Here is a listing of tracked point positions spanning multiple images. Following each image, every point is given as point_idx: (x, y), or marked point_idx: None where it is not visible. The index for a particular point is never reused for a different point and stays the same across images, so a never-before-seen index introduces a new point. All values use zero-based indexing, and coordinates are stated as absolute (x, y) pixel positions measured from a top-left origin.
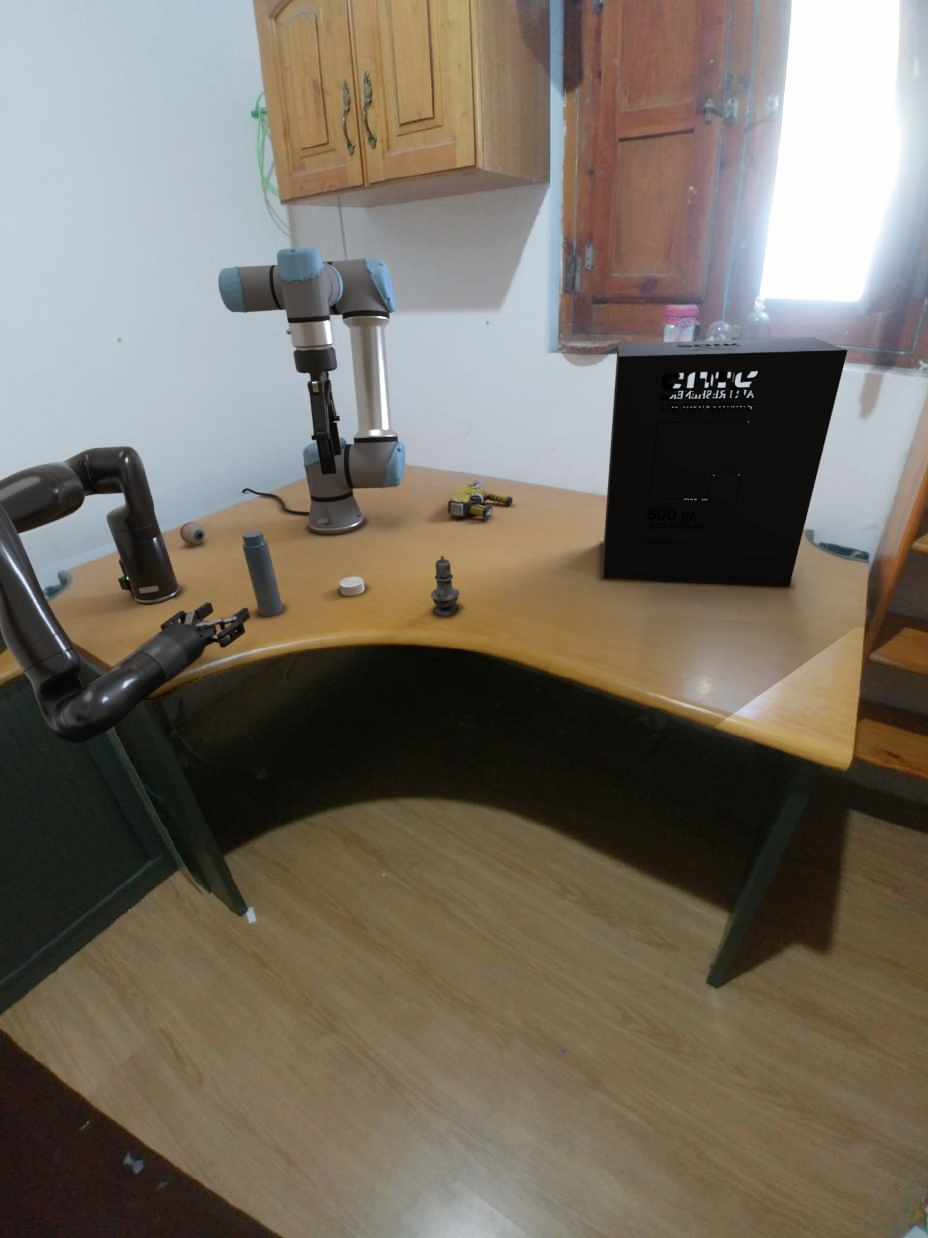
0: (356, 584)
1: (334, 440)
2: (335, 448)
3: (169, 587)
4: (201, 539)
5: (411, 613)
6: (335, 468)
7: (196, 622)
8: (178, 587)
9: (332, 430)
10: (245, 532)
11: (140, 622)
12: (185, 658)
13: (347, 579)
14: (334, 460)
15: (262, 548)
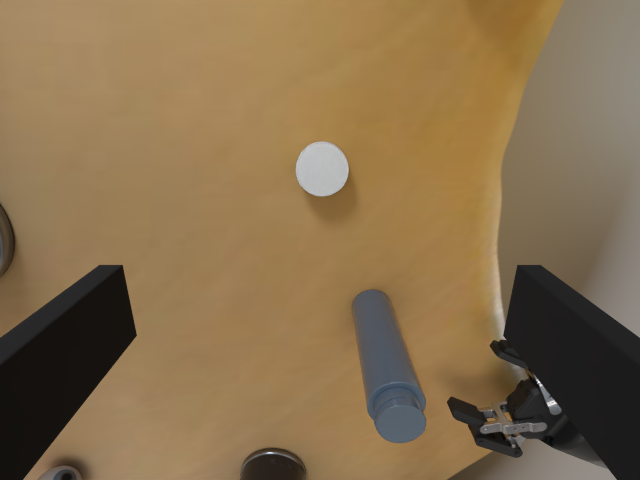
0: (338, 158)
1: (70, 347)
2: (105, 315)
3: (287, 468)
4: (68, 469)
5: (461, 31)
6: (556, 279)
7: (526, 414)
8: (265, 454)
9: (9, 411)
10: (387, 439)
11: (359, 468)
12: None
13: (309, 179)
14: (588, 303)
15: (416, 382)
